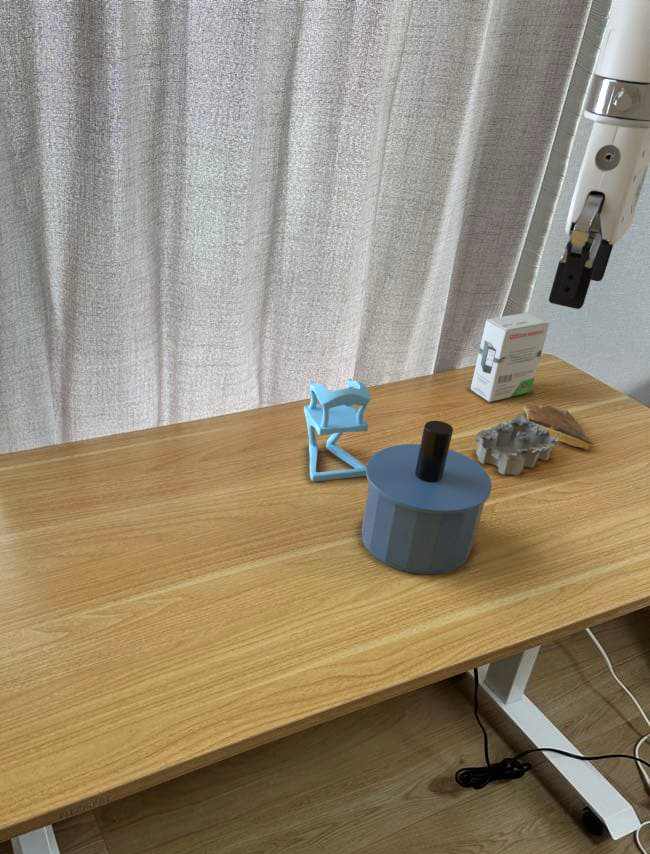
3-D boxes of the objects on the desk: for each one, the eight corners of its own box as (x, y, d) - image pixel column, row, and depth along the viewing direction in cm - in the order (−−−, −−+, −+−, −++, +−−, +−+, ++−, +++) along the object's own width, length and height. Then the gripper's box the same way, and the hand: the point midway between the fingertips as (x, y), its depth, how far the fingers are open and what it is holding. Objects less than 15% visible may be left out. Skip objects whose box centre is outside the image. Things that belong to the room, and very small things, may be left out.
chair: (345, 444, 112) (356, 363, 104) (368, 476, 105) (381, 392, 98) (292, 449, 110) (300, 367, 103) (312, 482, 103) (321, 397, 96)
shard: (590, 453, 113) (594, 442, 111) (536, 451, 112) (539, 440, 111) (564, 416, 121) (568, 405, 120) (514, 414, 121) (517, 403, 120)
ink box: (510, 380, 130) (529, 310, 123) (531, 393, 127) (552, 321, 120) (468, 389, 127) (485, 317, 120) (488, 403, 124) (507, 329, 117)
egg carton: (509, 480, 106) (516, 454, 103) (465, 455, 111) (471, 429, 108) (558, 458, 111) (567, 432, 109) (515, 434, 116) (522, 409, 113)
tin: (483, 531, 96) (500, 471, 91) (449, 588, 87) (465, 525, 82) (386, 498, 101) (397, 439, 96) (343, 549, 92) (353, 487, 87)
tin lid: (504, 475, 92) (520, 419, 87) (466, 534, 82) (482, 475, 78) (392, 440, 97) (402, 386, 93) (345, 492, 87) (353, 434, 83)
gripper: (662, 120, 64) (596, 326, 74) (689, 96, 76) (629, 276, 87) (567, 108, 67) (516, 308, 77) (607, 86, 79) (558, 261, 89)
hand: (576, 291), depth 82 cm, fingers open, 9 cm apart
